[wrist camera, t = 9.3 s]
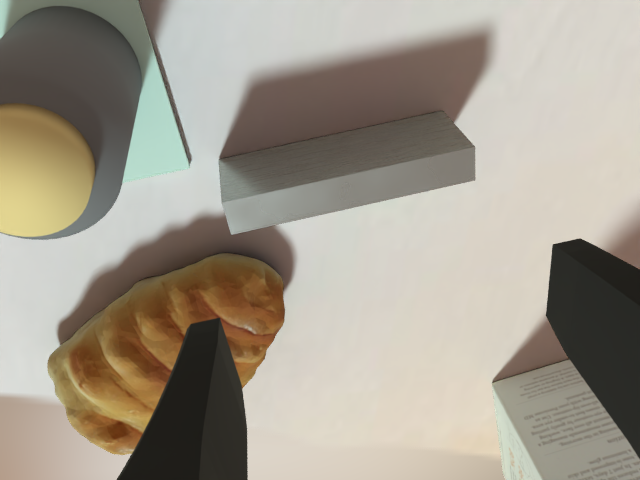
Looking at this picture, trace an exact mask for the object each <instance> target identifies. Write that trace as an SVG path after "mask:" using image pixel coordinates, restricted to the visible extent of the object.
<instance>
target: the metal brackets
mask: <svg viewBox="0 0 640 480" xmlns="http://www.w3.org/2000/svg"><path fill="white" fill-rule="evenodd" d="M219 172H220V185H221V199H222V205H223V209H224V212H225V216H226V219H227V223H228V226H229V229H230V233H231V235H233V234H238V233H242V232H247V231H251V230H256V229H260V228H264V227H269V226H273V225H278V224H282V223H287V222H291V221H296V220H300V219H305V218H309V217H313V216H318V215H322V214H327V213H331V212H336V211H340V210H345V209H349V208H354V207H358V206H363V205H367V204H371V203H376V202H380V201H385V200H389V199H394V198H398V197H403V196H407V195H412V194H416V193H420V192H425V191H429V190H434V189H438V188H443V187H447V186H452V185H456V184H461V183H465V182H470V181H474V180H475V146H474V145H473V144H472V143H471V142H470V141H469V140H468V138H467V137H466V136H465V135H464V134H463V133H462V132H461V131H460V129H459V128H458V127H457V126H456V125H455V124H454V123H453V122H452V121H451V119H450V118H449V117H448V116H447V115H446V114H445V113H444V112H443V111H439V112H434V113H430V114H425V115H420V116H416V117H411V118H407V119H402V120H397V121H393V122H388V123H384V124H379V125H374V126H370V127H365V128H361V129H356V130H351V131H347V132H342V133H338V134H333V135H328V136H324V137H319V138H315V139H310V140H305V141H301V142H296V143H292V144H287V145H282V146H278V147H273V148H268V149H264V150H259V151H255V152H250V153H245V154H241V155H236V156H232V157H227V158H222V159H219Z"/></svg>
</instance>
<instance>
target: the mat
mask: <svg viewBox="0 0 640 480" xmlns="http://www.w3.org/2000/svg"><path fill="white" fill-rule="evenodd" d="M50 6H70V7H75V8H80V9H83V10H86V11H89V12H92V13H94V14H96V15H98V16H100V17H102V18H103V19H105V20H106V21H108V22H109V23H111V24H112V25H113V26H114V27H116V28H117V29H118V30H119V31H120V32H121V33H122V34H123V36H124V37H125V38H126V39H127V41H128V42H129V43H130V45H131V47H132V48H133V50H134V52H135V54H136V56H137V59H138V62H139V65H140V69H141V75H142V87H141V94H140V99H139V104H138V109H137V113H136V118H135V123H134V128H133V133H132V138H131V142H130V147H129V152H128V157H127V162H126V167H125V171H124V176H123V181H122V183H124V182H129V181H133V180H138V179H142V178H147V177H152V176H156V175H161V174H165V173H170V172H175V171H179V170H184V169H188V168H190V164H189V161H188V158H187V155H186V151H185V148H184V145H183V142H182V139H181V135H180V132H179V129H178V126H177V123H176V119H175V116H174V113H173V110H172V107H171V103H170V100H169V97H168V94H167V91H166V87H165V84H164V81H163V78H162V75H161V71H160V68H159V65H158V62H157V59H156V55H155V52H154V49H153V46H152V43H151V39H150V36H149V33H148V30H147V27H146V23H145V20H144V17H143V14H142V11H141V7H140V4H139V1H138V0H0V39H1V38H2V37H3V36H4V35H5V33H6V32H7V31H8V30H9V29H10V28H11V27H12V26H13V25H14V24H15V23H16V22H17V21H18V20H19V19H21V18H22V17H23V16H25V15H26V14H28V13H30V12H32V11H35V10H38V9H41V8H45V7H50Z"/></svg>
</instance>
